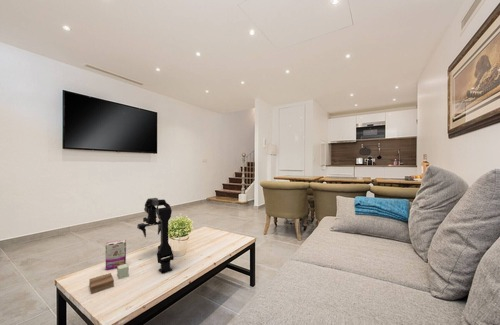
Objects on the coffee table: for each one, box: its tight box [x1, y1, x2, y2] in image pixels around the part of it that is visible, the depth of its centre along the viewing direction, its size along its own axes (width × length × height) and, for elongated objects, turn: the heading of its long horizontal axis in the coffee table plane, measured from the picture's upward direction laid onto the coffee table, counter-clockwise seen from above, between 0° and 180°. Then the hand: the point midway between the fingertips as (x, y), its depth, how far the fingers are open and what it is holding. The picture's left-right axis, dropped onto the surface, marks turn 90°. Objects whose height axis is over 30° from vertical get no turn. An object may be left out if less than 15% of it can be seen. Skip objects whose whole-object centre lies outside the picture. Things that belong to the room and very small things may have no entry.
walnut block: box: [88, 272, 115, 295], centre depth 115 cm, size 10×10×4 cm
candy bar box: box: [105, 239, 127, 271], centre depth 137 cm, size 11×5×16 cm, turn 117°
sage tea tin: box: [116, 263, 130, 280], centre depth 126 cm, size 5×5×6 cm
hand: (151, 235), depth 154 cm, fingers open, 9 cm apart
